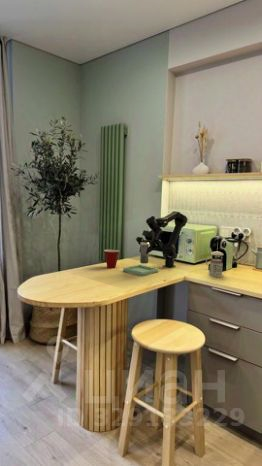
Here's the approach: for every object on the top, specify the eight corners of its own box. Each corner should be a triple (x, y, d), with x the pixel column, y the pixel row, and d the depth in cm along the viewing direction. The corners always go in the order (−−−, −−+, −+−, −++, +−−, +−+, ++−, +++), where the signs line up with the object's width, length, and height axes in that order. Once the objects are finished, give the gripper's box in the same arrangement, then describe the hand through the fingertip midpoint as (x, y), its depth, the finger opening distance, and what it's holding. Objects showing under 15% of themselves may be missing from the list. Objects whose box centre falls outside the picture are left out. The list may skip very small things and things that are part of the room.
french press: (225, 276, 202) (228, 237, 199) (207, 276, 202) (209, 237, 199) (220, 273, 212) (223, 235, 209) (203, 272, 212) (205, 235, 209)
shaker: (146, 261, 207) (147, 241, 206) (149, 263, 202) (150, 243, 201) (138, 261, 205) (139, 241, 204) (142, 263, 200) (142, 243, 199)
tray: (139, 267, 219) (139, 264, 219) (158, 272, 208) (158, 268, 208) (123, 271, 207) (123, 268, 207) (142, 276, 197) (142, 272, 196)
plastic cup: (120, 266, 222) (120, 249, 221) (118, 269, 211) (118, 251, 210) (104, 265, 223) (105, 248, 222) (101, 268, 212) (102, 250, 211)
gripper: (138, 224, 210) (126, 242, 203) (161, 227, 198) (149, 246, 191) (145, 235, 217) (134, 253, 210) (168, 238, 205) (157, 257, 198)
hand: (143, 252), depth 202 cm, fingers closed on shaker, 5 cm apart
